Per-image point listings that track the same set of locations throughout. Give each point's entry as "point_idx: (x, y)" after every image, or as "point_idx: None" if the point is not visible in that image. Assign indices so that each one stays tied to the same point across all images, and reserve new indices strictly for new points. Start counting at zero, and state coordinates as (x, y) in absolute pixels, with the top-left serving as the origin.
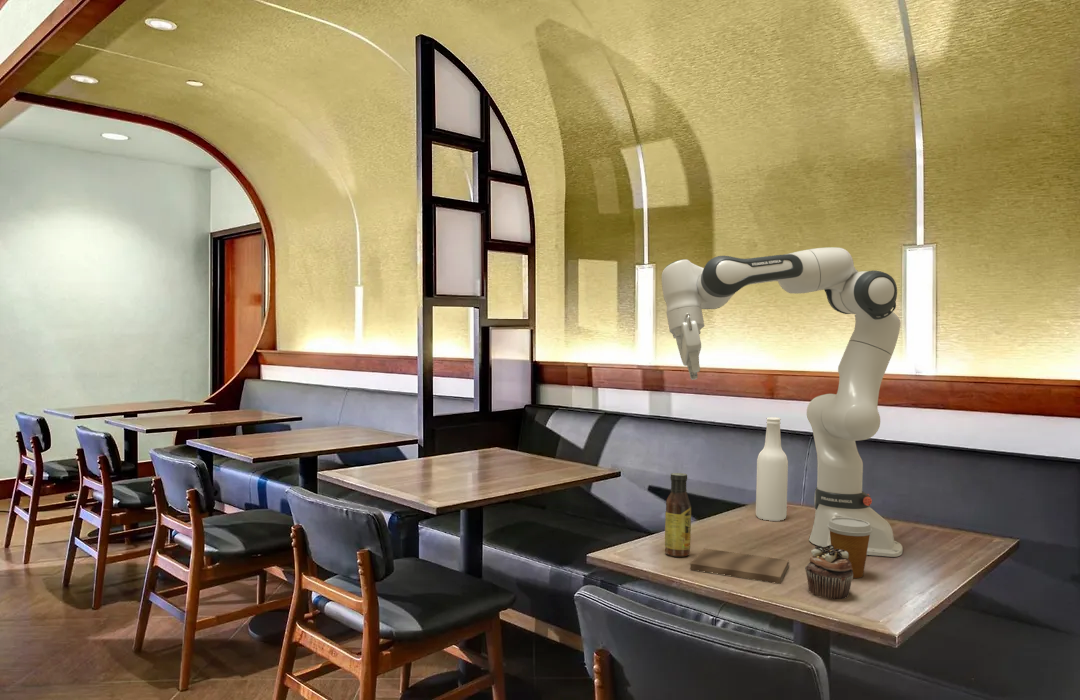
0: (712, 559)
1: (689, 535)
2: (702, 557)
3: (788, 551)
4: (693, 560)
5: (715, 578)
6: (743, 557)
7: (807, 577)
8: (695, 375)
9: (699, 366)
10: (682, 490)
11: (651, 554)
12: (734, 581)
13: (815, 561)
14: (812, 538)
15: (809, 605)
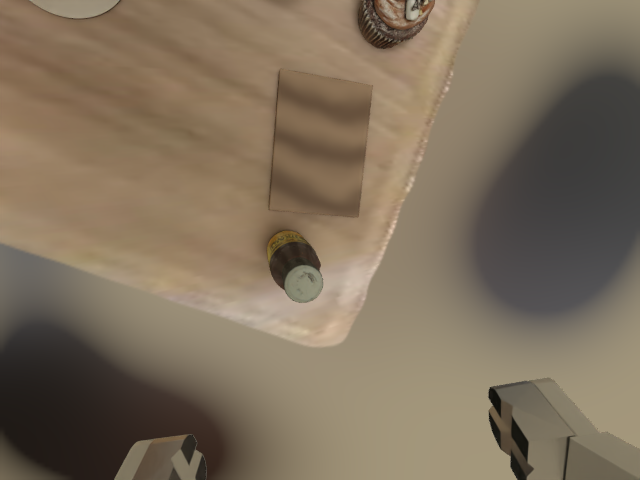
0: (326, 189)
1: (295, 234)
2: (321, 205)
3: (182, 68)
4: (342, 215)
5: (377, 178)
6: (295, 143)
7: (394, 43)
8: (183, 466)
9: (573, 405)
10: (311, 263)
11: None
12: (380, 152)
13: (422, 20)
14: (90, 9)
15: (438, 53)
